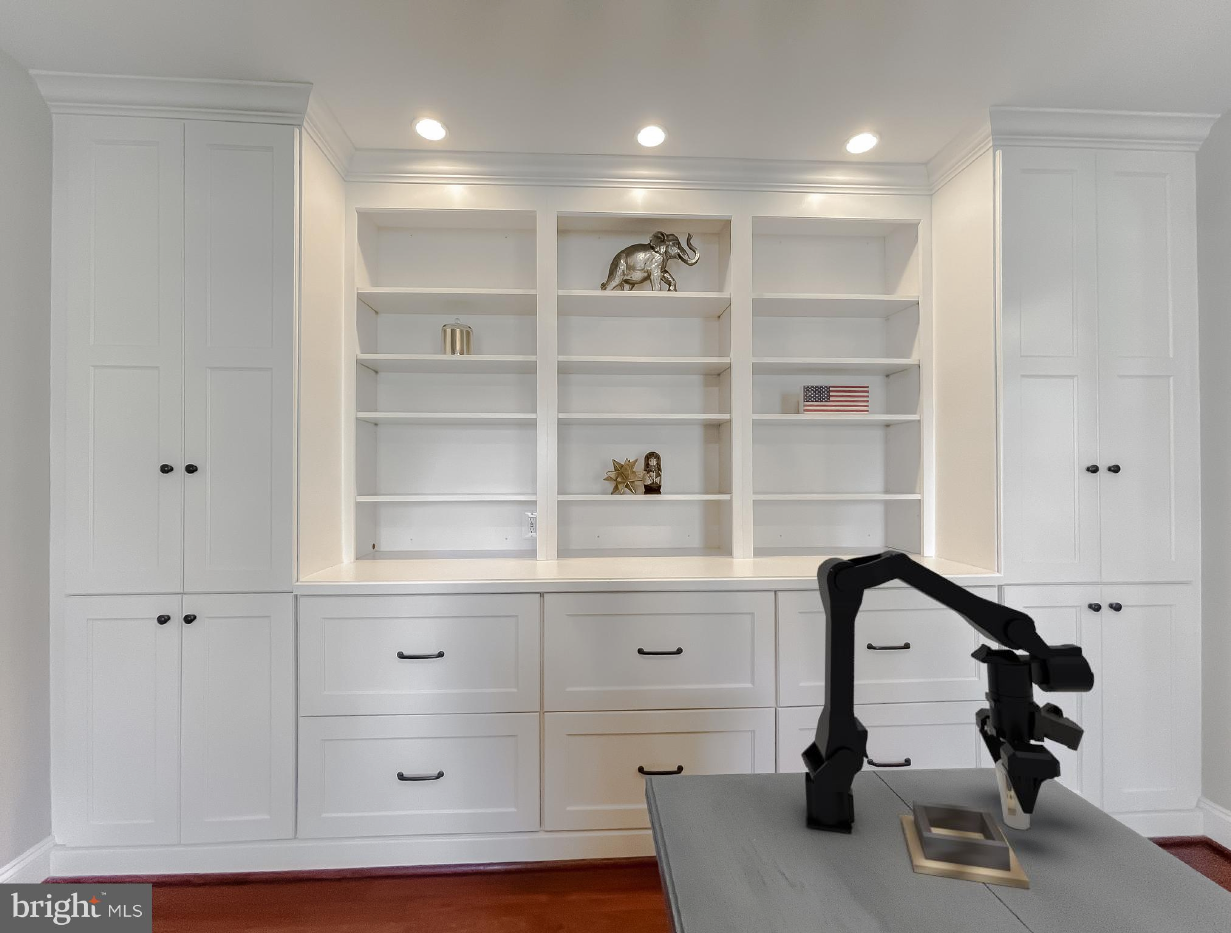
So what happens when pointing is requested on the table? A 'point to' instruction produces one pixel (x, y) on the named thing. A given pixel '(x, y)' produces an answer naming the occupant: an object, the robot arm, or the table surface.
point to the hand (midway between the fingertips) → (1017, 797)
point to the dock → (960, 844)
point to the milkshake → (1010, 801)
